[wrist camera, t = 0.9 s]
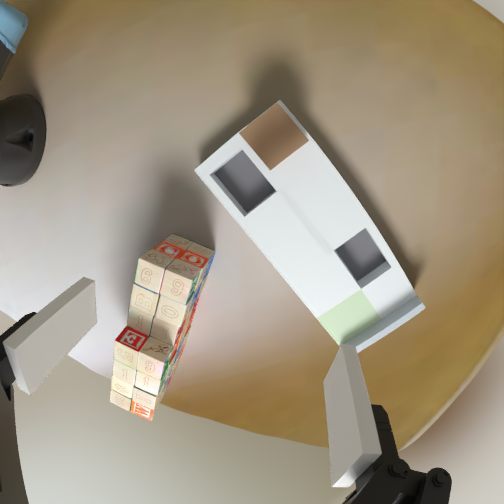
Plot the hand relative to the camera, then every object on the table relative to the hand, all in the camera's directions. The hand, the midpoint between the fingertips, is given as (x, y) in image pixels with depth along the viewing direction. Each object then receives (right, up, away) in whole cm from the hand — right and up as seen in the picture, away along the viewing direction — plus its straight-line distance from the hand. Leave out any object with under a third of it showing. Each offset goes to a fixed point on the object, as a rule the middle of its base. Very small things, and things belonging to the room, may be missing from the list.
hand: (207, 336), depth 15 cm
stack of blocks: (-9, -4, +27) cm, 29 cm away
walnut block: (+5, +16, +15) cm, 23 cm away
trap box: (+10, +6, +21) cm, 24 cm away
